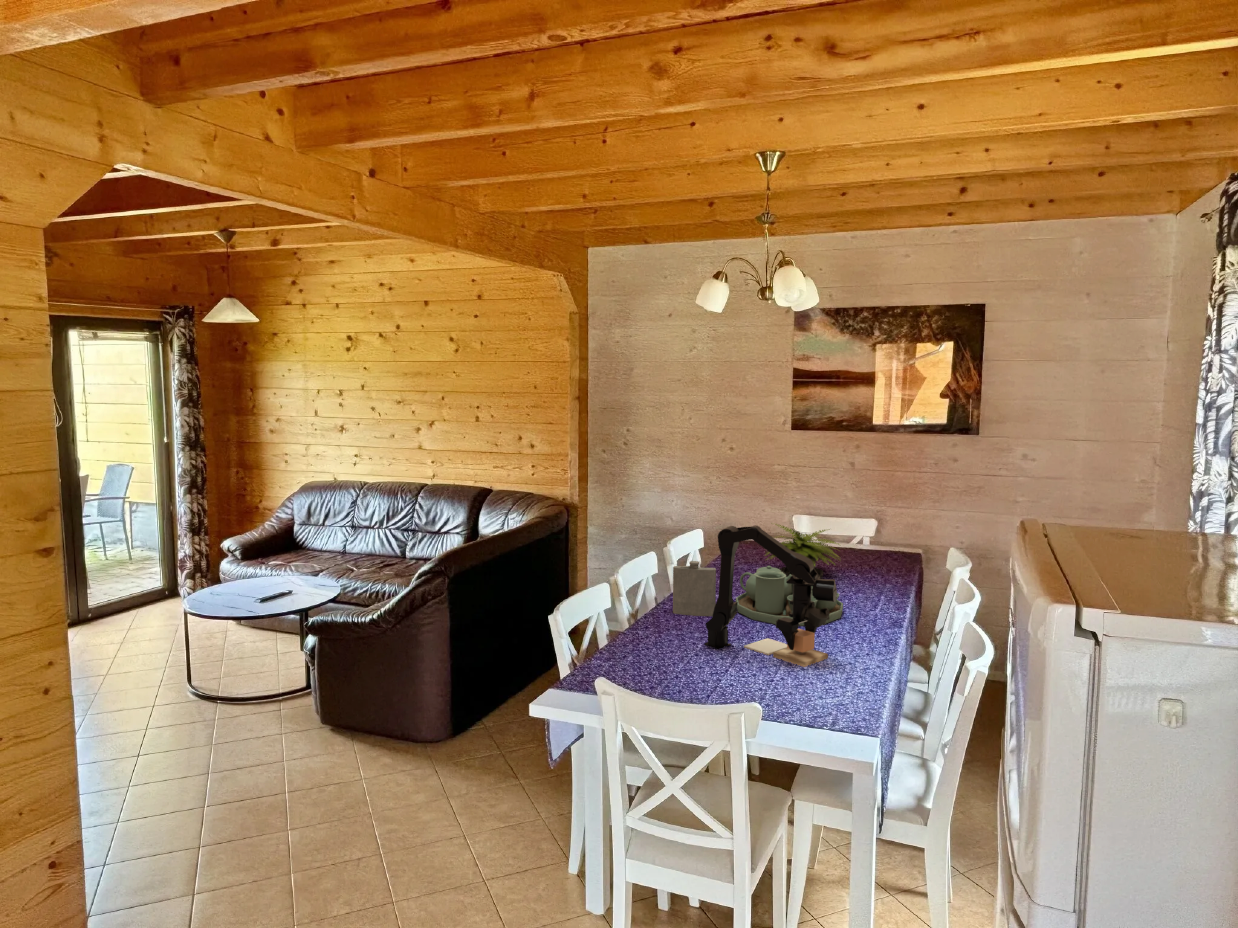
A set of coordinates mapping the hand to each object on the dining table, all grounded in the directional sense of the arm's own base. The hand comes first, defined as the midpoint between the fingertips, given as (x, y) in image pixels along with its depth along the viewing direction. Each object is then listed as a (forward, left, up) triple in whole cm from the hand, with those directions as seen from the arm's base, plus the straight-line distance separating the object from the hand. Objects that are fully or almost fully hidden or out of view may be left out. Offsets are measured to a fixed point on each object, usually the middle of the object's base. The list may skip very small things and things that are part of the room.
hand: (800, 646), depth 262 cm
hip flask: (+9, +55, -4) cm, 56 cm away
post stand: (0, 0, -4) cm, 4 cm away
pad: (0, +13, -4) cm, 13 cm away
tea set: (+40, +35, -4) cm, 53 cm away
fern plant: (+89, +65, -4) cm, 110 cm away
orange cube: (0, 0, 0) cm, 0 cm away
